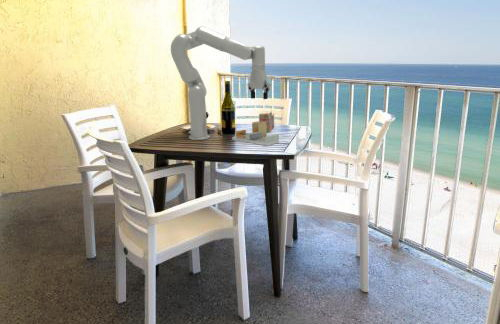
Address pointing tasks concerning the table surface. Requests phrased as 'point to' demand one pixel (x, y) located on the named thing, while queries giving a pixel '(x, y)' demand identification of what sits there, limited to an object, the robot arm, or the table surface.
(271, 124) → the stack of blocks
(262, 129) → the brass block
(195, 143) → the table surface
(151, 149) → the table surface
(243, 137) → the vise
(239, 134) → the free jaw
